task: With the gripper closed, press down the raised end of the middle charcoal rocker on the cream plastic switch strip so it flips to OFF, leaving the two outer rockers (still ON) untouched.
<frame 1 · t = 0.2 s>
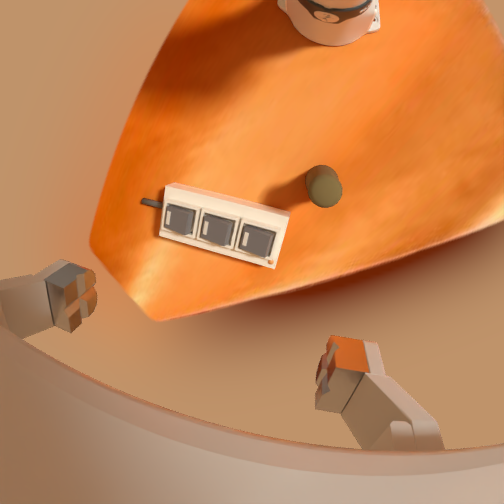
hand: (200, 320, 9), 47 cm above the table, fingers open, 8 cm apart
rocker 3: (256, 241, 52), point 6 cm above the table, hinge at 15.0°
rocker 1: (178, 219, 54), point 6 cm above the table, hinge at 15.0°
cork: (321, 181, 53), on the table
switch strip: (225, 220, 59), on the table
rocker 2: (216, 230, 53), point 6 cm above the table, hinge at 15.0°
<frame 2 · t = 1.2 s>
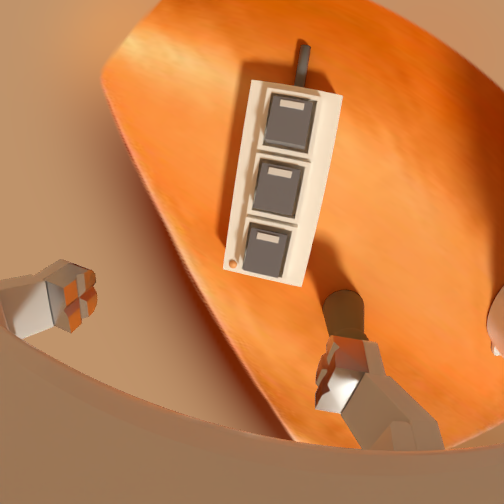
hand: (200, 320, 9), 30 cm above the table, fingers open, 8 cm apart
rocker 3: (265, 252, 34), point 6 cm above the table, hinge at 15.0°
rocker 1: (289, 122, 29), point 6 cm above the table, hinge at 15.0°
cork: (343, 307, 42), on the table
switch strip: (282, 181, 37), on the table
rocker 2: (277, 189, 32), point 6 cm above the table, hinge at 15.0°
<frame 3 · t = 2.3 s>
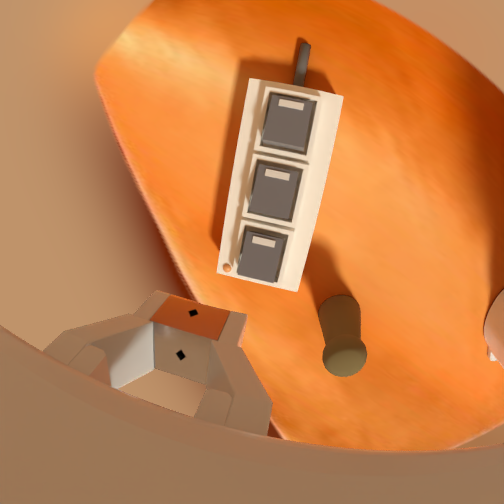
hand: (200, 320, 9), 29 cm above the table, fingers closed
rocker 3: (260, 256, 33), point 6 cm above the table, hinge at 15.0°
rocker 1: (287, 122, 28), point 6 cm above the table, hinge at 15.0°
cork: (339, 312, 41), on the table
switch strip: (279, 183, 36), on the table
rocker 2: (274, 191, 31), point 6 cm above the table, hinge at 15.0°
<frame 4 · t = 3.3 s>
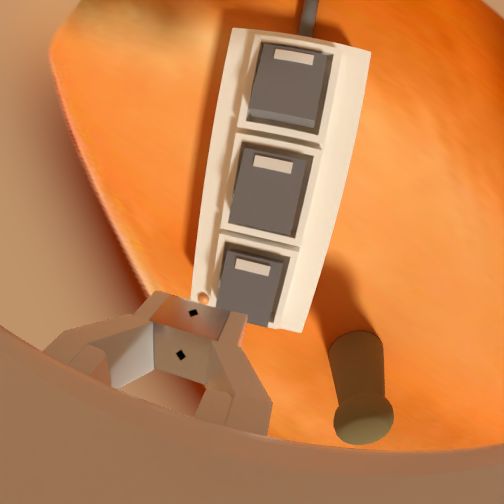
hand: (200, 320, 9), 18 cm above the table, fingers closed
rocker 3: (248, 287, 22), point 6 cm above the table, hinge at 15.0°
rocker 1: (289, 83, 17), point 6 cm above the table, hinge at 15.0°
cork: (355, 352, 30), on the table
switch strip: (277, 179, 25), on the table
rocker 2: (268, 191, 20), point 6 cm above the table, hinge at 15.0°
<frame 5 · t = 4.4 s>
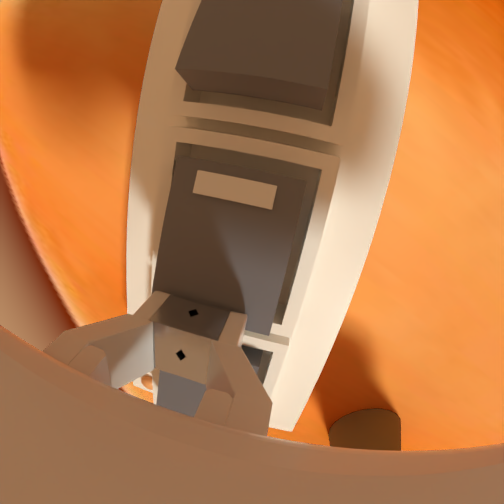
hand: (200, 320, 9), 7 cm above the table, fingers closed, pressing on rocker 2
rocker 3: (205, 391, 13), point 6 cm above the table, hinge at 15.0°
rocker 1: (269, 21, 7), point 6 cm above the table, hinge at 15.0°
cork: (364, 429, 20), on the table
switch strip: (257, 203, 15), on the table
rocker 2: (227, 243, 10), point 6 cm above the table, hinge at 15.0°, touching gripper
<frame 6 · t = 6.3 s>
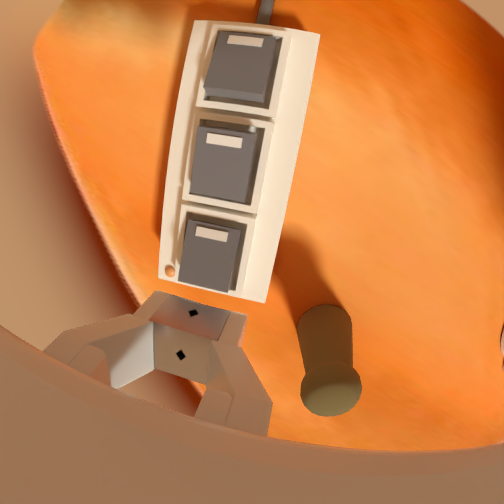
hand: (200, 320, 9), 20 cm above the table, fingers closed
rocker 3: (209, 255, 24), point 6 cm above the table, hinge at 15.0°
rocker 1: (241, 65, 18), point 6 cm above the table, hinge at 15.0°
cork: (324, 327, 32), on the table
switch strip: (238, 157, 27), on the table
rocker 2: (223, 162, 21), point 6 cm above the table, hinge at -6.2°
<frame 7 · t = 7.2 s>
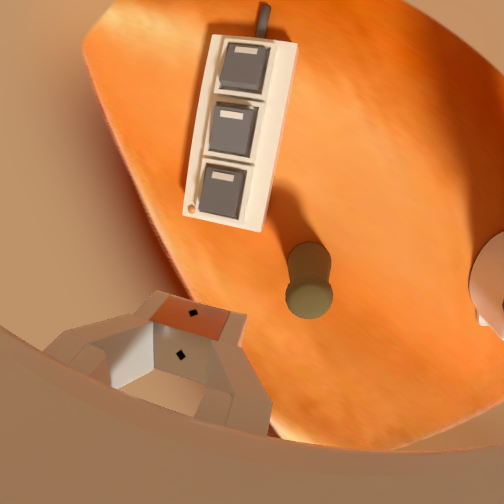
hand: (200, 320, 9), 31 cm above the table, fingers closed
rocker 3: (221, 192, 34), point 6 cm above the table, hinge at 15.0°
rocker 1: (243, 66, 28), point 6 cm above the table, hinge at 15.0°
cork: (309, 262, 42), on the table
switch strip: (243, 129, 36), on the table
rocker 2: (231, 128, 31), point 6 cm above the table, hinge at -11.5°
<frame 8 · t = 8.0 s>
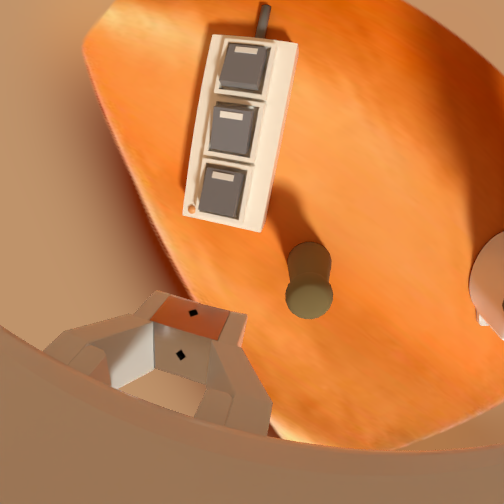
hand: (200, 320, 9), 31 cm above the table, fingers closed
rocker 3: (221, 192, 34), point 6 cm above the table, hinge at 15.0°
rocker 1: (243, 66, 28), point 6 cm above the table, hinge at 15.0°
cork: (309, 262, 42), on the table
switch strip: (243, 129, 36), on the table
rocker 2: (231, 128, 31), point 6 cm above the table, hinge at -15.3°
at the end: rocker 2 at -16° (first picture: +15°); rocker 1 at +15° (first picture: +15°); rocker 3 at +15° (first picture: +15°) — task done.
